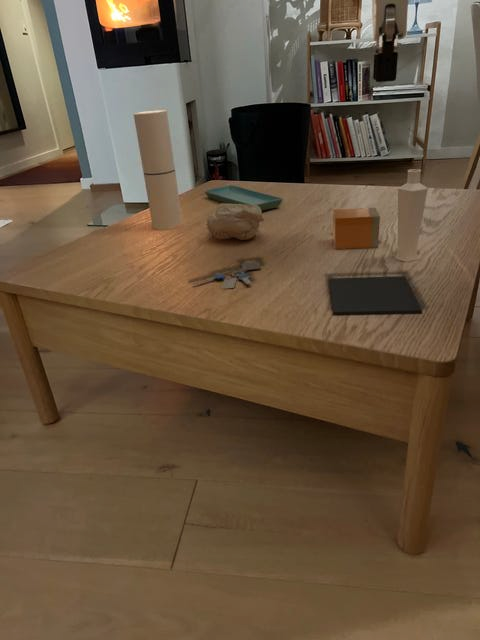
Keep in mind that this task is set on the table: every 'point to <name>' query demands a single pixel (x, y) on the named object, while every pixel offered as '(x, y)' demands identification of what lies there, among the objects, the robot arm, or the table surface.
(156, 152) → the cylindrical container
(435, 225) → the table surface
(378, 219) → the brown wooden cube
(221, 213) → the fossil replica
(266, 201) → the shallow long dish
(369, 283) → the coaster
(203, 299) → the table surface
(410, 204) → the perfume bottle
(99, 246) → the table surface
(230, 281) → the toy rifle
